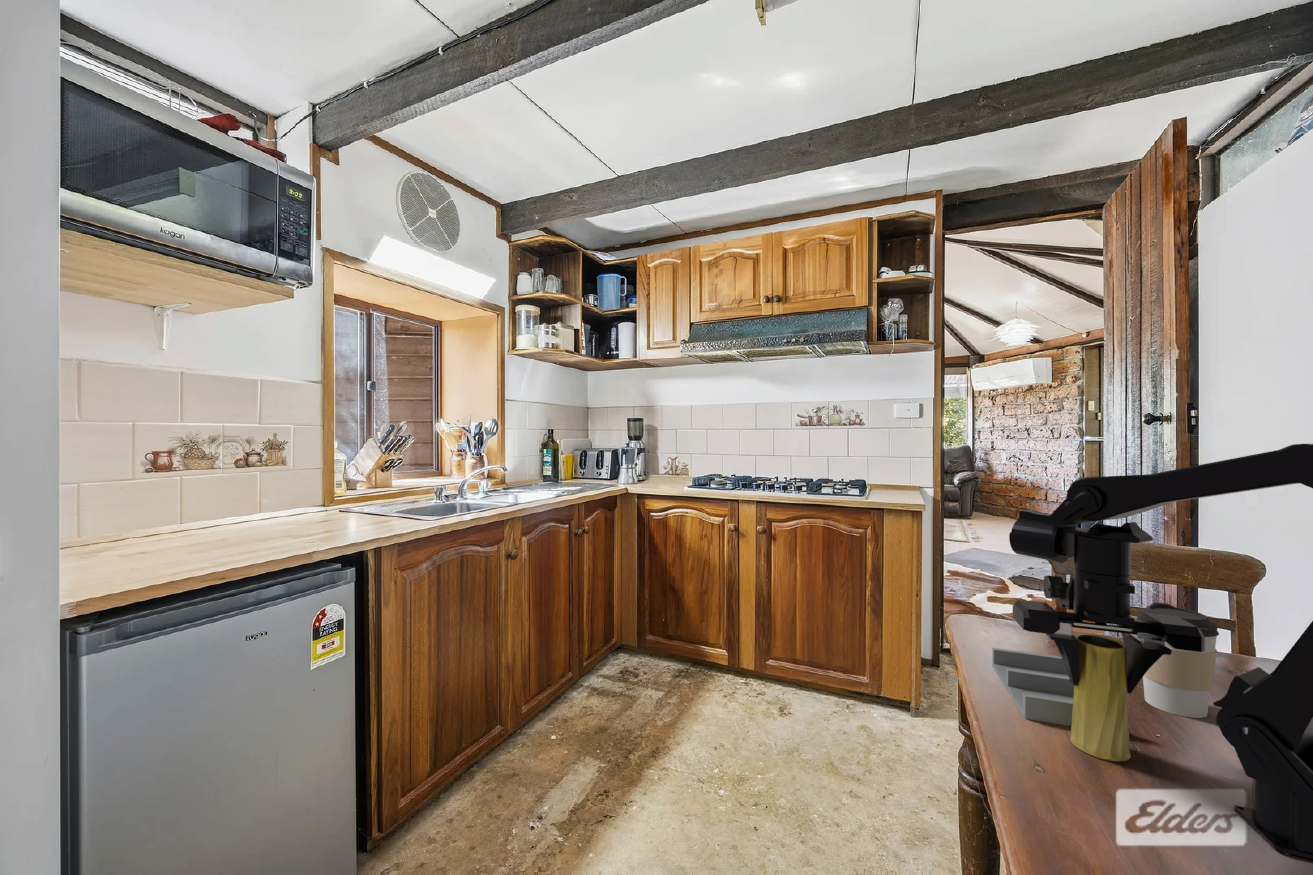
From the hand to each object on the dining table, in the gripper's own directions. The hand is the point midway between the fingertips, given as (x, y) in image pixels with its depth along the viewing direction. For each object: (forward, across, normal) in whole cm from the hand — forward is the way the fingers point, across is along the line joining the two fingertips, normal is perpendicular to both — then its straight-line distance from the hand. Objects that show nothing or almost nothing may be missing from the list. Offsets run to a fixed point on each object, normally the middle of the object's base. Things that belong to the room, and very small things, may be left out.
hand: (1100, 688), depth 69 cm
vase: (+8, 0, 0) cm, 8 cm away
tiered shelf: (+8, +1, -14) cm, 17 cm away
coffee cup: (+8, -16, -18) cm, 25 cm away
